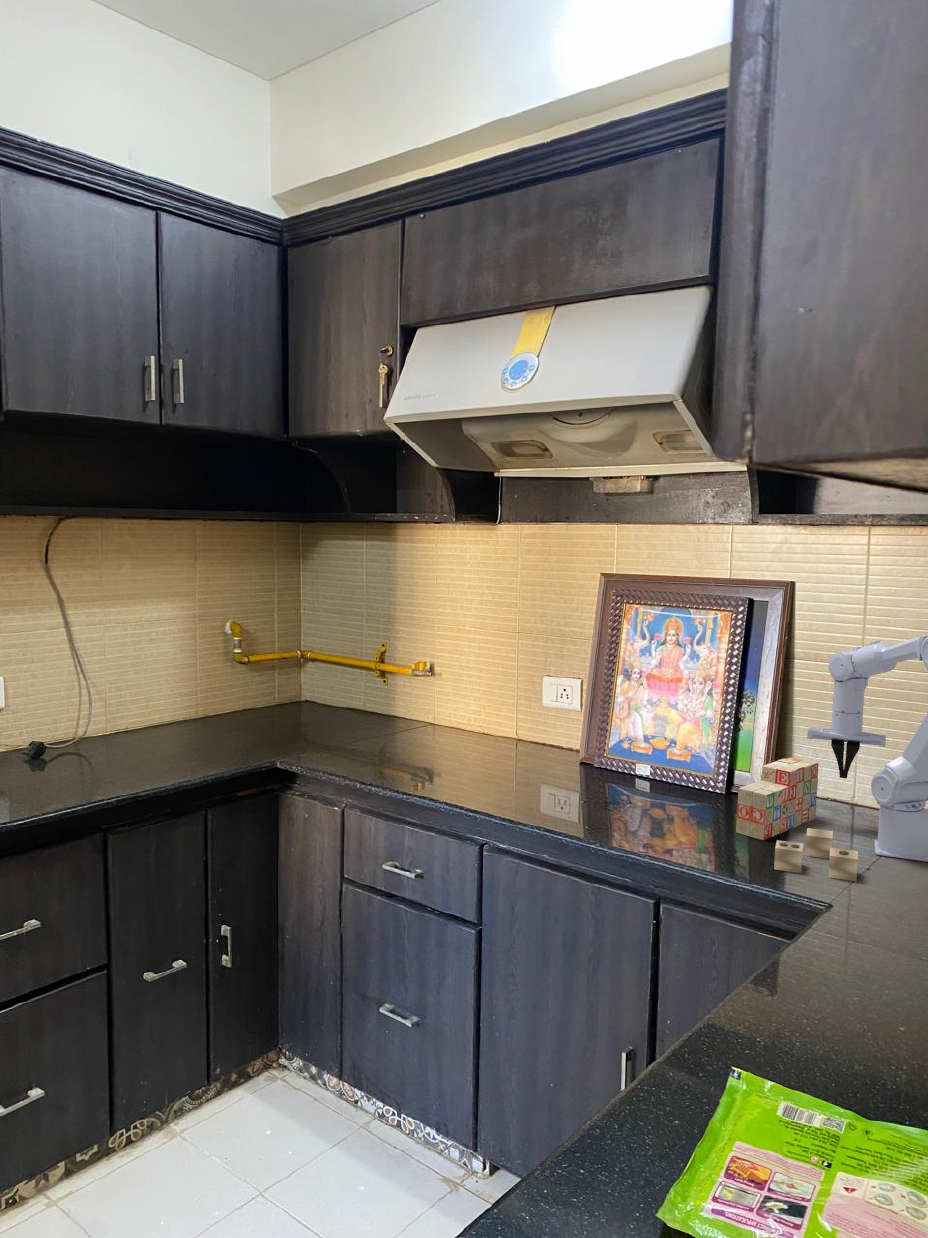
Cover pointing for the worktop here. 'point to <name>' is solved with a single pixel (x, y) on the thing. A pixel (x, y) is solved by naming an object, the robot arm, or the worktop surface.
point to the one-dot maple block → (843, 864)
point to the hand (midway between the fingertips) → (843, 777)
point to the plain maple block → (818, 843)
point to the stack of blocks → (778, 799)
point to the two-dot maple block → (788, 856)
